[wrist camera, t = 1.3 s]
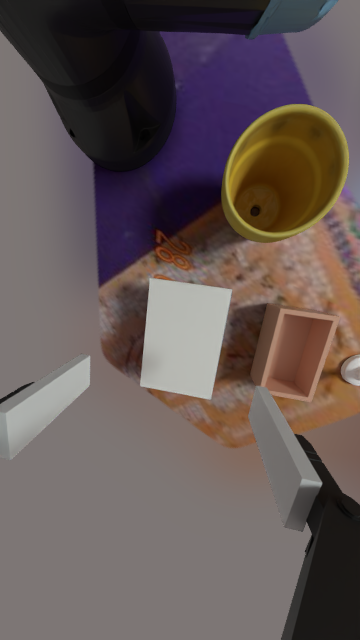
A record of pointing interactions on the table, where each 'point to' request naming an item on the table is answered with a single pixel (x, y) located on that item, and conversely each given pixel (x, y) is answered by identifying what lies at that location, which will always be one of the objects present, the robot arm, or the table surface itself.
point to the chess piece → (351, 370)
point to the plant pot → (284, 173)
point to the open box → (292, 350)
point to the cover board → (183, 336)
